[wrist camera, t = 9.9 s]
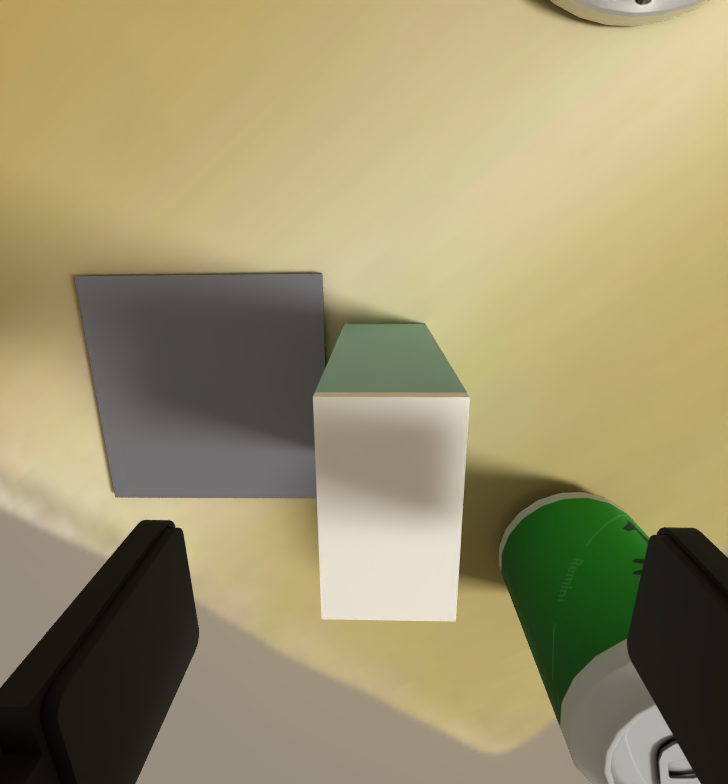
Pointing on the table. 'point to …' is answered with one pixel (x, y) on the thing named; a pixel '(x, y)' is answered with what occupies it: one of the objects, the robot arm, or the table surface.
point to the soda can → (589, 635)
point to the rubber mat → (206, 381)
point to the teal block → (389, 475)
